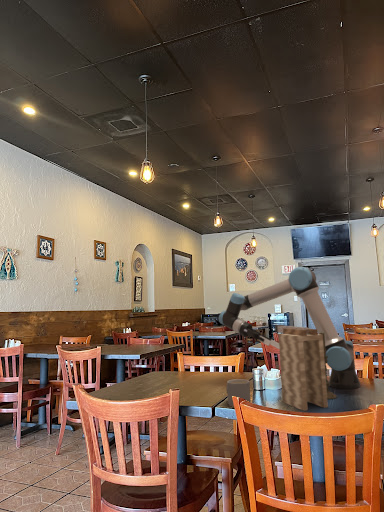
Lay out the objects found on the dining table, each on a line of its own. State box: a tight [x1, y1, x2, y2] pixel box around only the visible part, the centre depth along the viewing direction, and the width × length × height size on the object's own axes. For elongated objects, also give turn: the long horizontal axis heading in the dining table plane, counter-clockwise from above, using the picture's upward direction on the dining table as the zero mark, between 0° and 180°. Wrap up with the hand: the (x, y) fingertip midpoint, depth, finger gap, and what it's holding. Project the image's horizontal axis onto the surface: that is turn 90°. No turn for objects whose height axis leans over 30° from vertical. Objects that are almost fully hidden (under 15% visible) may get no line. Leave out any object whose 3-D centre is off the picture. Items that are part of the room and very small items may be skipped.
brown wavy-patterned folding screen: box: [278, 328, 329, 412], centre depth 171 cm, size 16×12×32 cm
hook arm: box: [274, 324, 310, 335], centre depth 179 cm, size 23×4×4 cm, turn 18°
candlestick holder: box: [320, 332, 338, 400], centre depth 182 cm, size 9×9×30 cm
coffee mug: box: [226, 378, 252, 407], centre depth 175 cm, size 13×10×10 cm
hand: (275, 345), depth 199 cm, fingers open, 13 cm apart
